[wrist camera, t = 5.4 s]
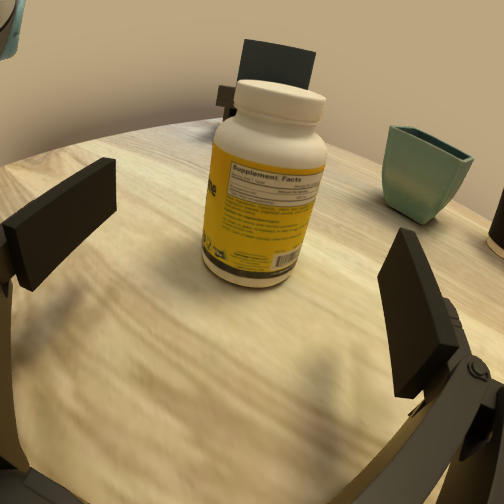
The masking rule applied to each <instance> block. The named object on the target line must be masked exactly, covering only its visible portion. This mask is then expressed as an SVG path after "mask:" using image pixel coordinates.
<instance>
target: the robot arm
mask: <svg viewBox="0 0 504 504" xmlns="http://www.w3.org/2000/svg"><path fill="white" fill-rule="evenodd" d="M25 1H26V0H0V61H1V60H4V59H8V58H11V57H12V56H14V54H15V53H16V51H17V48H18V40H19V34H20V27H21V22H22V16H23V10H24V6H25ZM116 211H117V206H116V159H111V158H105V157H102V158H101V159H99V160H97V161H95V162H94V163H92V164H90V165H88V166H87V167H85V168H83V169H82V170H80V171H78V172H77V173H75V174H74V175H72V176H70V177H69V178H67V179H66V180H64V181H62V182H61V183H59V184H58V185H56V186H55V187H53V188H52V189H50V190H49V191H47V192H46V193H44V194H43V195H41V196H40V197H38V198H37V199H35V200H33V201H31V202H30V203H28V204H27V205H25V206H24V208H21V209H20V210H18V211H17V213H14V214H13V215H12V216H10V217H9V218H8V219H6V220H5V221H4V222H2V223H1V224H0V504H90V503H88V502H86V501H85V500H83V499H82V498H80V497H78V496H77V495H75V494H74V493H72V492H71V491H69V490H68V489H66V488H65V487H63V486H61V485H59V484H58V483H56V482H54V481H53V480H51V479H49V478H48V477H46V476H44V475H43V474H41V473H39V472H38V471H36V470H35V469H33V468H32V467H30V466H29V463H28V460H27V458H26V456H25V454H24V452H23V450H22V448H21V446H20V443H19V439H18V433H17V427H16V419H15V411H14V402H13V390H12V376H11V306H12V291H13V285H12V281H11V278H12V277H13V276H14V275H15V274H16V276H17V279H18V282H19V285H20V286H21V287H23V288H25V289H27V290H29V291H32V292H33V291H34V290H35V289H36V288H37V287H38V286H39V285H40V284H41V283H42V282H43V281H44V280H45V279H46V278H47V277H48V276H49V274H50V273H51V272H52V271H53V270H54V269H55V268H56V267H57V266H58V265H59V264H60V263H61V262H62V261H63V260H64V259H65V258H66V257H67V256H68V255H69V254H70V253H71V252H72V251H73V250H74V249H75V248H77V247H78V246H79V245H80V244H81V243H82V242H83V241H84V240H85V239H86V238H87V237H88V236H89V235H90V234H91V233H92V232H93V231H95V230H96V229H97V228H98V227H99V226H100V225H101V224H102V223H103V222H104V221H106V220H107V219H108V218H109V217H110V216H111V215H112V214H113V213H114V212H116ZM377 278H378V283H379V289H380V294H381V300H382V305H383V311H384V317H385V323H386V330H387V337H388V344H389V351H390V359H391V367H392V376H393V385H394V396H395V397H399V398H408V399H414V398H415V397H416V396H417V395H418V394H419V393H420V392H421V391H422V390H423V392H424V398H425V399H424V400H423V401H422V402H421V403H420V404H419V405H418V406H417V407H416V408H415V409H414V410H413V411H411V412H410V413H409V414H408V416H409V418H408V419H407V421H406V422H405V423H404V424H403V425H402V427H401V428H400V429H399V430H398V432H397V433H396V434H395V435H394V436H393V438H392V439H391V440H390V441H389V442H388V443H387V444H386V446H385V447H384V448H383V449H382V450H381V451H380V452H379V453H378V455H377V456H376V457H375V458H374V459H373V460H372V461H371V462H370V463H369V464H368V465H367V466H366V467H365V468H364V469H363V470H362V472H361V473H360V474H359V475H358V476H357V477H356V478H355V479H354V480H353V481H352V482H351V483H349V484H348V485H347V486H346V487H345V488H344V489H343V490H342V491H341V492H340V493H339V494H338V495H337V496H336V497H335V498H334V499H332V500H331V501H330V502H329V503H328V504H423V503H424V501H425V500H426V498H427V497H428V496H429V494H430V493H431V491H432V490H433V488H434V487H435V485H436V484H437V482H438V481H439V479H440V478H441V476H442V475H443V473H444V471H445V470H446V468H447V467H448V465H449V463H450V465H449V469H448V472H447V474H446V477H445V480H444V483H443V486H442V488H441V491H440V494H439V496H438V499H437V501H436V504H504V384H502V383H500V382H498V381H496V380H494V379H492V378H491V376H490V371H489V369H488V367H487V366H486V364H485V363H484V362H483V361H482V360H481V359H479V358H478V357H476V356H474V355H472V353H471V350H470V347H469V344H468V341H467V338H466V335H465V333H464V330H463V329H462V324H461V322H460V321H459V316H458V314H457V311H456V308H455V307H454V306H453V304H452V303H451V302H450V301H449V299H448V298H444V297H442V295H441V292H440V289H439V287H438V284H437V282H436V279H435V277H434V274H433V272H432V270H431V267H430V265H429V262H428V260H427V258H426V256H425V253H424V251H423V249H422V247H421V244H420V242H419V240H418V238H417V236H416V233H415V232H414V231H410V230H407V229H404V228H401V227H400V228H399V230H398V233H397V235H396V237H395V239H394V242H393V244H392V246H391V248H390V251H389V253H388V255H387V257H386V259H385V261H384V263H383V266H382V268H381V270H380V272H379V274H378V276H377Z"/></svg>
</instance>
